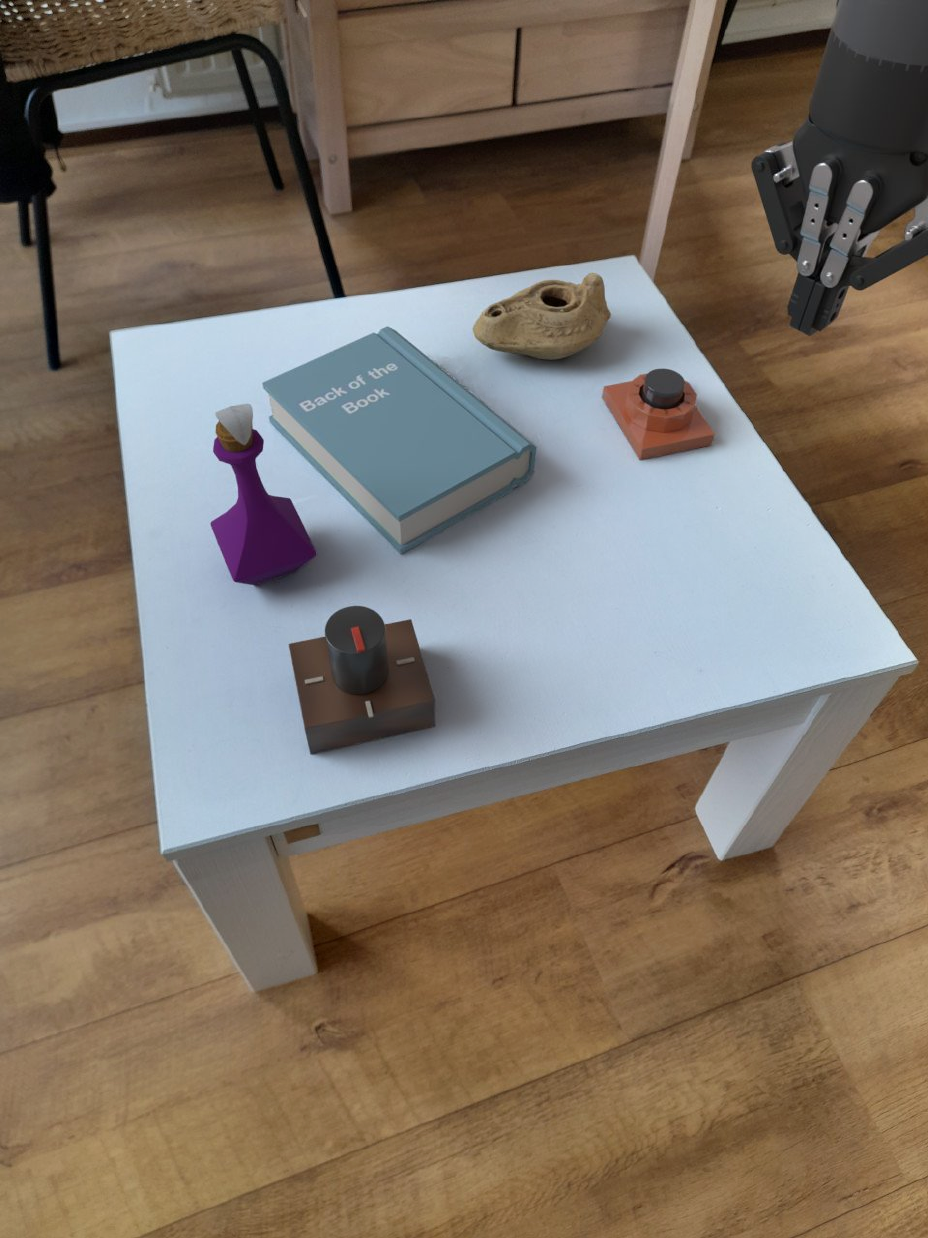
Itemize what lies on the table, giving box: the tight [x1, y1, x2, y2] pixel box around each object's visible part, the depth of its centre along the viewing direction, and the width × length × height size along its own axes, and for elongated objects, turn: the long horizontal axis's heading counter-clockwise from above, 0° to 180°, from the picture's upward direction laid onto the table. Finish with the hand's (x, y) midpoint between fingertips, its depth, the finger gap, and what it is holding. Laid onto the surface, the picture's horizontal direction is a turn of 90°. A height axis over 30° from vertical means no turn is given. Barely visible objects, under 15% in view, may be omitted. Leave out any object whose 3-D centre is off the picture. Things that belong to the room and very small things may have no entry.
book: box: [261, 325, 538, 555], centre depth 91 cm, size 23×16×5 cm
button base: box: [601, 372, 716, 461], centre depth 95 cm, size 10×8×4 cm
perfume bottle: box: [210, 403, 318, 586], centre depth 76 cm, size 8×8×18 cm
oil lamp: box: [472, 272, 612, 361], centre depth 100 cm, size 11×15×8 cm
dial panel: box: [288, 618, 436, 755], centre depth 73 cm, size 10×9×4 cm
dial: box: [324, 605, 388, 694], centre depth 70 cm, size 4×4×6 cm
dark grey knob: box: [642, 368, 686, 410], centre depth 93 cm, size 4×4×2 cm
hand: (806, 325), depth 60 cm, fingers closed
